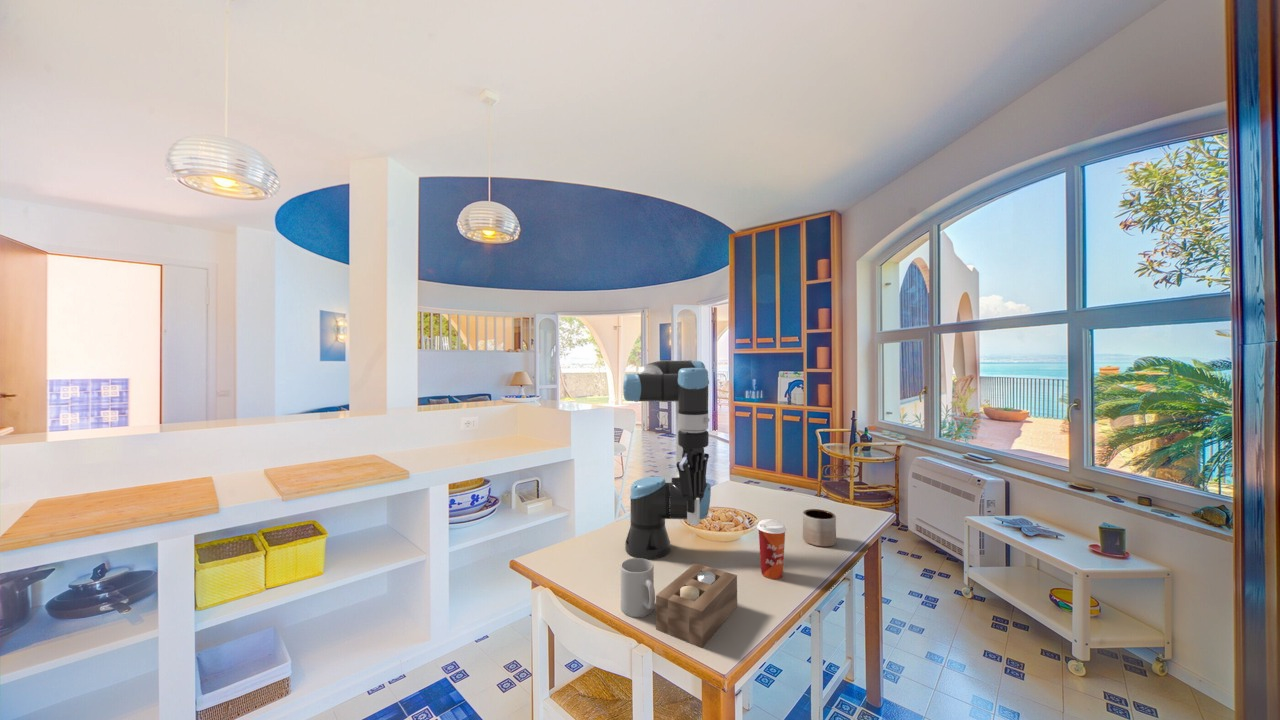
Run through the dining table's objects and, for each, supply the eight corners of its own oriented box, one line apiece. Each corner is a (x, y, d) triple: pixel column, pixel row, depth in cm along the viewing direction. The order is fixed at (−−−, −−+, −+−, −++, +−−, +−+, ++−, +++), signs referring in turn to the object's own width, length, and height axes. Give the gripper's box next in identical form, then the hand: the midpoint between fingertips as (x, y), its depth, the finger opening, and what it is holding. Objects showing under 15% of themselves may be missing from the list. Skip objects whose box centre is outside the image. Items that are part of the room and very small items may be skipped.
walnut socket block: (656, 629, 104) (655, 595, 104) (695, 592, 121) (695, 563, 121) (702, 647, 97) (702, 611, 97) (737, 606, 114) (737, 575, 114)
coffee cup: (771, 583, 125) (771, 530, 125) (751, 571, 133) (751, 521, 133) (793, 577, 129) (792, 525, 129) (772, 565, 136) (772, 516, 136)
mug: (614, 604, 115) (614, 562, 115) (642, 595, 119) (642, 555, 119) (638, 629, 104) (638, 582, 104) (668, 618, 109) (668, 573, 109)
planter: (807, 533, 162) (807, 506, 162) (839, 539, 156) (839, 512, 156) (798, 542, 153) (798, 515, 153) (832, 550, 147) (832, 521, 147)
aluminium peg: (694, 608, 112) (694, 576, 112) (702, 600, 116) (702, 569, 116) (710, 613, 110) (710, 581, 110) (718, 605, 113) (718, 574, 113)
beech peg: (676, 625, 105) (676, 591, 105) (685, 616, 108) (685, 583, 108) (693, 632, 102) (693, 597, 102) (702, 622, 106) (702, 589, 106)
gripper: (694, 435, 103) (694, 536, 103) (718, 427, 113) (718, 518, 114) (666, 432, 107) (666, 529, 108) (692, 424, 118) (692, 512, 118)
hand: (693, 523), depth 111 cm, fingers closed
